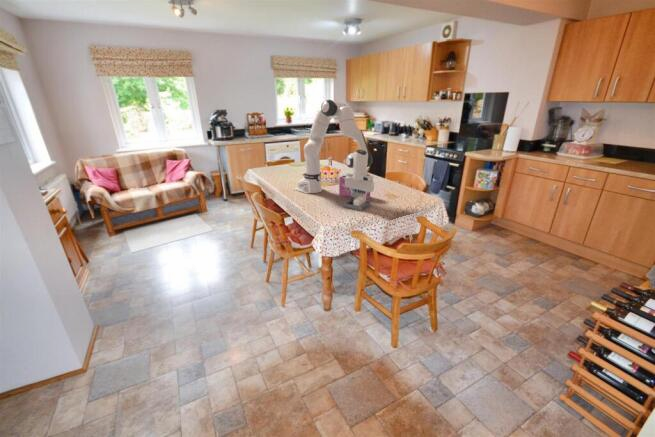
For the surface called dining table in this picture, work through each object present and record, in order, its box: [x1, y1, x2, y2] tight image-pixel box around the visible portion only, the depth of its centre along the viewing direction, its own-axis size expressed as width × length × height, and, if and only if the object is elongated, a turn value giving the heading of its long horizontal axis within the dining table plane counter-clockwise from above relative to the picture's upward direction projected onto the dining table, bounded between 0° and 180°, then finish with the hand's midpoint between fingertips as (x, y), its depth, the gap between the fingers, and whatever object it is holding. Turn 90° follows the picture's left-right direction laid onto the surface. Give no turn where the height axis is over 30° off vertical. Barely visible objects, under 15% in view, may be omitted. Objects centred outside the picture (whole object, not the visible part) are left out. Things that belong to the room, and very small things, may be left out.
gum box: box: [338, 175, 371, 200], centre depth 220 cm, size 24×8×14 cm, turn 61°
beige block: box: [353, 195, 367, 206], centre depth 201 cm, size 4×11×6 cm, turn 148°
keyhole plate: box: [342, 197, 372, 212], centre depth 203 cm, size 14×14×2 cm
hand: (358, 195), depth 199 cm, fingers open, 8 cm apart
